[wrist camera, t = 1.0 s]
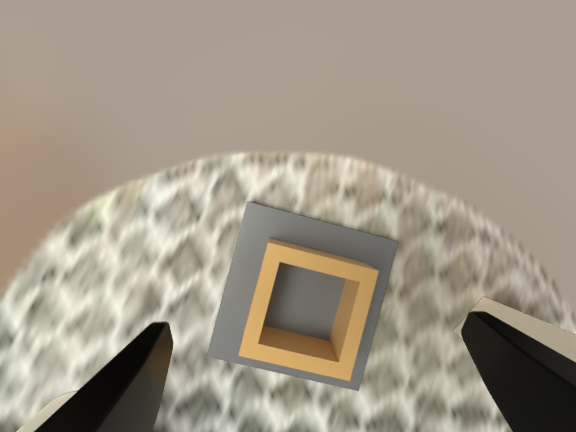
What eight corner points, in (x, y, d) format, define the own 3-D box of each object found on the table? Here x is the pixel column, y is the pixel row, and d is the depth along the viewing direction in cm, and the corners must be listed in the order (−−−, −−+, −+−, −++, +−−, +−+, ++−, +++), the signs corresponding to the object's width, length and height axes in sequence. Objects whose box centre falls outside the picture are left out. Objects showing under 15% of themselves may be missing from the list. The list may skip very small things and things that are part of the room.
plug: (484, 360, 26) (675, 494, 14) (453, 330, 26) (618, 439, 14) (514, 326, 27) (730, 429, 14) (483, 296, 26) (674, 374, 14)
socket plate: (355, 383, 26) (372, 420, 21) (209, 350, 25) (195, 381, 20) (393, 240, 26) (419, 246, 21) (248, 201, 25) (243, 200, 20)
